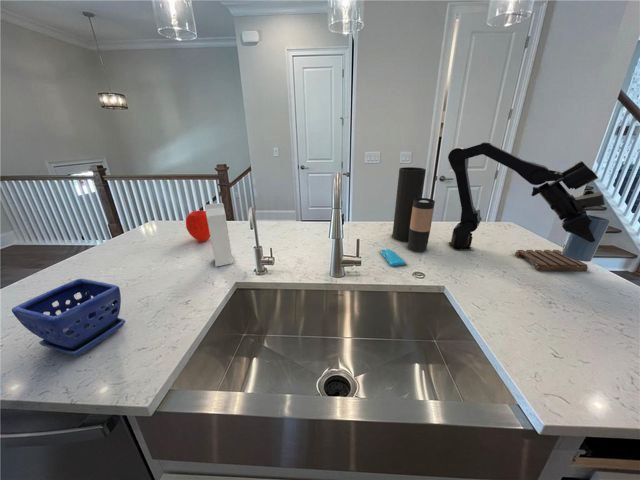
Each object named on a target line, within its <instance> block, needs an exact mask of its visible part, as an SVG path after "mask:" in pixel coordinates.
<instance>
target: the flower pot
mask: <svg viewBox="0 0 640 480" xmlns="http://www.w3.org/2000/svg"><path fill="white" fill-rule="evenodd" d="M77 294H80V296H81V297H79V298H76V297H75V295H77ZM67 301H69V303H67ZM55 302H57V303H58V304H57V305H56V306H54V305H53V304H54V303H55ZM121 304H122V295H121V289H120V287H119V286H118V285H116V284H112V283H109V282H103V281H99V280H94V279H93V280H92V279H87V278H77V279H75V280H72V281H70V282H67V283H65V284H62V285H60V286H58V287H55V288H53V289H51V290H49V291H46V292H43V293H42V294H39V295H38V296H37V295H36V296H35V297H33V298H31V299H28V300H26V301H24V302H22V303H20V304H18V305H15V306H14V307H12V309H11V312H12V314H13V316H15V318H16V319H17V320H18V321H19V323H20V324H21V325H22V326H23V327H24V328H25V329H26V330H28V331H29V332H30V333H31V334H33V335H35V336H36V337H38V338H40V339H41V340H40V341H39V343H38V344H39V345H41V346H43V347H46V348H49V349H52V350H54V351H57V352H60V353H63V354H67V355H69V356H75V357H80V356H82V355H83V354H85V353H86V352H88V351H89V350H91V349H92V348H94V347H95V346H97V345H98V344H100V343H101V342H103V341H104V340H105V339H108V338H109V337H110V336H111V335H113V334H115V333H116V332H117V331H119V330H120V329H121V328H122V327H123V326H124V324H125V323H126V319H124V318H122V317H121V318H120V317H119V315H120V312H121ZM58 311H60V313H59V314H57V312H58ZM47 313H49V314H47Z"/></svg>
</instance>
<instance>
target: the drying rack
mask: <svg viewBox="0 0 640 480" xmlns="http://www.w3.org/2000/svg"><path fill="white" fill-rule="evenodd" d="M561 253H562V250H560V249H553V250H550V249H544V250H542V249H535V250H533V249H525V250H524V249H517V251H515V252H514V256H515V257H517V258H526V259H527V260H530V261H531V262H532V263H534V264H535V267H534V269H535V270H536V271H538V272H555V271H556V272H557V271H558V272H587V271H588V269H589V267H588V264H587V263H586V262H585V263H584V261H579V260H574V259H571V258H568V257H566V256H564V255H562V254H561Z"/></svg>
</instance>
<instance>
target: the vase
mask: <svg viewBox="0 0 640 480" xmlns="http://www.w3.org/2000/svg"><path fill="white" fill-rule="evenodd" d="M426 171H427V169H426V168H423V167H417V166H416V167H415V166H414V167H413V166H412V167H411V166H406V167H405V166H404V167H400V168H399V169H398V178H397V190H396V198H395V207H394V217H393V224H392V235H391V236H392V238H393V239H394V240H396V241H399V242H404V243H405V242H406V243H408V240H409V230H410V222H411V215H412V208H413V201H414V199H416V198H423V194H424V193H423V192H424V187H425V178H426Z"/></svg>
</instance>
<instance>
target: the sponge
mask: <svg viewBox="0 0 640 480" xmlns="http://www.w3.org/2000/svg"><path fill="white" fill-rule="evenodd" d="M380 254H381V255H382V256H383V258H384V259H385V260H386V261H387V263H388V265H389V266H392V267H393V266H394V267H395V266H405V265H406V262H405V260H403V259H402V258H401V256H399V255H398V254H397V253H396V252H395V251H394V250H391V249H390V248H386V249H381V250H380Z"/></svg>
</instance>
